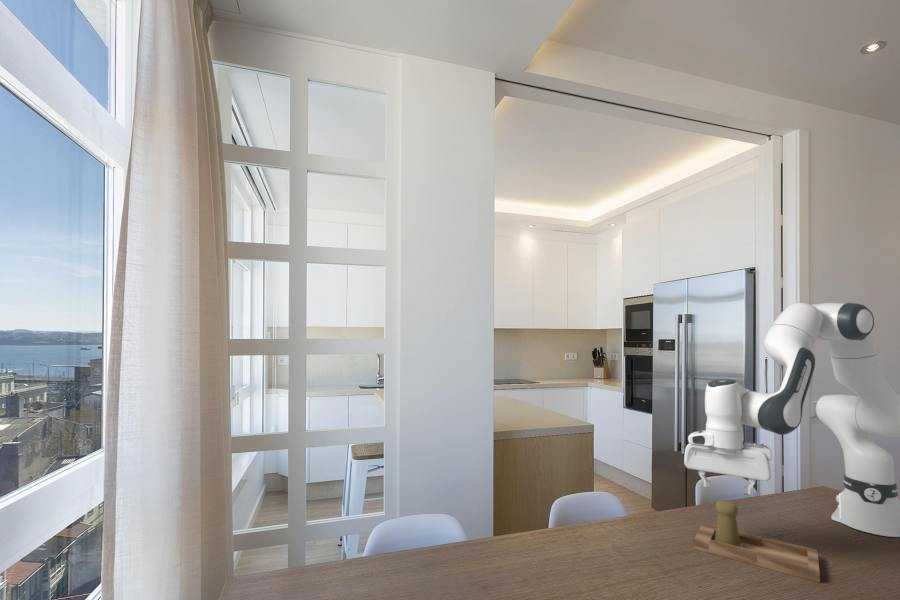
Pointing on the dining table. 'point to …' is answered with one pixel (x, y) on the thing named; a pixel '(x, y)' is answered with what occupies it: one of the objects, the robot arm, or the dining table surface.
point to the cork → (727, 523)
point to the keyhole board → (762, 553)
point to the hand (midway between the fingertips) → (726, 490)
